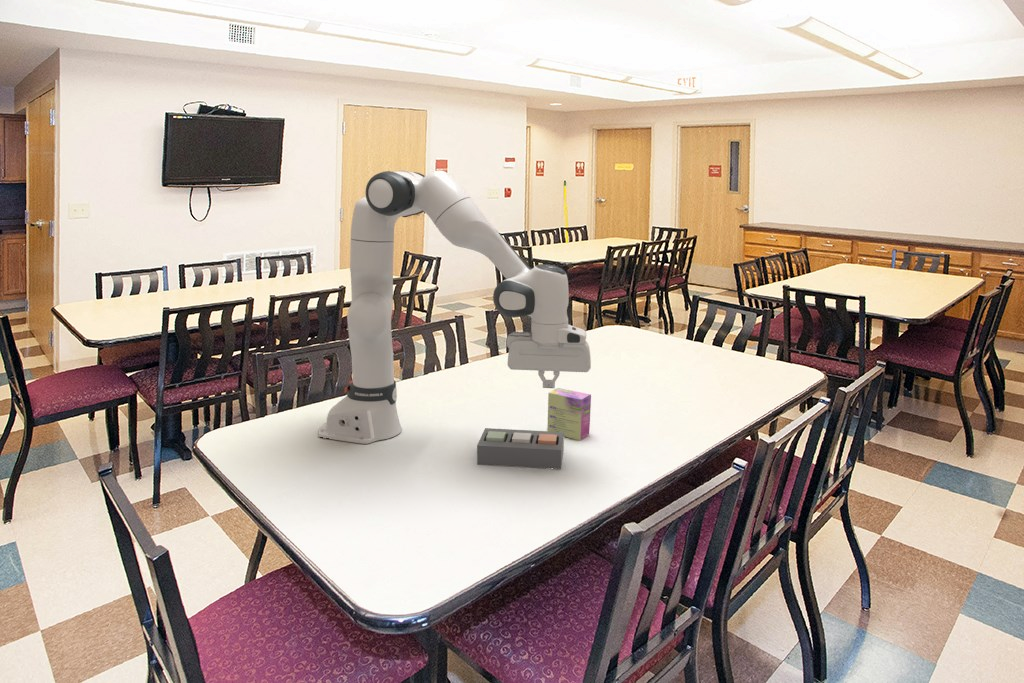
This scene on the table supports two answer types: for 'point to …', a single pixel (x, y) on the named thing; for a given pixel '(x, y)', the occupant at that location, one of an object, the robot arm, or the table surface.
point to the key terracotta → (547, 439)
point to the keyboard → (520, 451)
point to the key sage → (496, 436)
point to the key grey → (521, 438)
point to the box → (569, 413)
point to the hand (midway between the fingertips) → (548, 387)
